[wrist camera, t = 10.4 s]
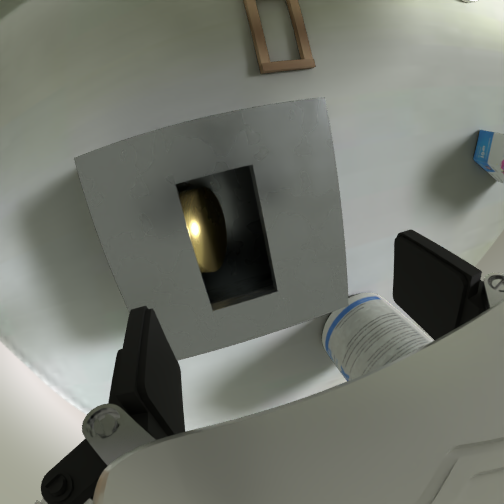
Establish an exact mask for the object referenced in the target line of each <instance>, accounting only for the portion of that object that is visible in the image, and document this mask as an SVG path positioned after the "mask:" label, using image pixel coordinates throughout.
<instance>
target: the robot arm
mask: <svg viewBox="0 0 504 504" xmlns="http://www.w3.org/2000/svg"><path fill="white" fill-rule="evenodd" d="M462 1H464V2H468V3H472V2H476V1H478V0H462ZM481 273H482V272H481V271H480V270H479V269H477V268H476V267H474V266H473V265H471V264H469V263H468V262H466V261H465V260H463V259H461V258H460V257H458V256H456V255H455V254H453V253H451V252H450V251H448V250H446V249H445V248H443V247H441V246H440V245H438V244H436V243H434V242H433V241H431V240H429V239H428V238H426V237H424V236H422V235H420V234H419V233H417V232H415V231H413V230H407V231H404V232H401V233H399V234H398V235H397V238H396V239H395V242H394V280H393V299H394V301H395V303H396V304H397V305H398V306H400V307H401V308H402V309H403V310H404V311H405V312H406V313H407V314H408V315H409V316H410V317H411V318H412V319H413V320H414V321H415V322H416V323H417V324H419V325H420V326H421V327H422V328H423V329H424V330H425V331H426V332H427V333H428V334H429V335H430V336H431V337H432V338H433V339H434V341H433V342H431V343H429V344H427V345H425V346H423V347H421V348H419V349H417V350H415V351H413V352H411V353H409V354H407V355H405V356H403V357H401V358H399V359H397V360H395V361H393V362H391V363H389V364H386V365H384V366H382V367H380V368H378V369H375V370H373V371H371V372H369V373H366V374H364V375H362V376H359V377H357V378H355V379H352V380H350V381H347V382H345V383H342V384H340V385H337V386H335V387H332V388H329V389H327V390H324V391H322V392H319V393H316V394H313V395H311V396H308V397H305V398H302V399H299V400H296V401H293V402H290V403H287V404H284V405H281V406H278V407H275V408H272V409H268V410H265V411H262V412H258V413H255V414H251V415H248V416H244V417H241V418H237V419H234V420H230V421H226V422H222V423H218V424H214V425H210V426H206V427H202V428H198V429H194V430H190V431H186V432H185V424H184V413H183V400H182V385H181V371H180V366H179V364H178V361H177V359H176V357H175V355H174V353H173V351H172V349H171V347H170V345H169V342H168V340H167V338H166V336H165V334H164V332H163V329H162V327H161V325H160V323H159V320H158V318H157V316H156V314H155V311H154V310H153V309H152V308H151V309H148V308H147V306H142V307H139V308H135V309H131V310H130V314H129V319H128V324H127V328H126V333H125V339H124V344H123V349H120V350H119V351H118V353H117V357H116V362H115V367H114V373H113V378H112V384H111V390H110V397H109V403H108V404H103V405H100V406H97V407H96V408H94V409H93V410H91V411H90V412H89V413H88V414H87V416H86V417H85V419H84V421H83V425H82V432H83V434H84V436H85V438H86V439H85V440H84V441H82V442H81V443H80V444H79V445H78V446H77V447H76V448H75V449H73V450H72V451H71V452H70V453H69V454H68V455H67V456H66V457H64V458H63V459H62V460H61V461H60V462H59V463H58V464H57V465H56V466H55V467H53V468H52V469H51V470H50V471H49V472H48V473H47V474H46V475H45V476H44V478H43V480H42V484H41V492H42V496H43V499H42V501H41V502H39V501H38V500H37V501H36V503H35V504H504V274H502V273H491V274H488V275H487V276H485V278H484V281H481V280H480V278H481Z"/></svg>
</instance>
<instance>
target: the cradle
mask: <svg viewBox="0 0 504 504" xmlns="http://www.w3.org/2000/svg"><path fill="white" fill-rule="evenodd" d="M243 1H244V5H245V9H246V13H247V17H248V21H249V25H250V30H251V34H252V38H253V42H254V46H255V51H256V55H257V59H258V64H259V68H260V73H261V74H264V73H272V72H280V71H290V70H301V69H311V68H314V67H316V66H315V62H314V59H313V58H312V53H311V49H310V45H309V41H308V37H307V33H306V29H305V25H304V21H303V17H302V14H301V10H300V6H299V3H298V0H286V3H287V6H288V10H289V14H290V17H291V21H292V25H293V29H294V33H295V37H296V41H297V45H298V49H299V54H300V58H301V59H300V60H287V61H277V62H270V59H269V54H268V50H267V46H266V42H265V37H264V33H263V29H262V25H261V21H260V17H259V13H258V9H257V5H256V2H255V0H243Z"/></svg>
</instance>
